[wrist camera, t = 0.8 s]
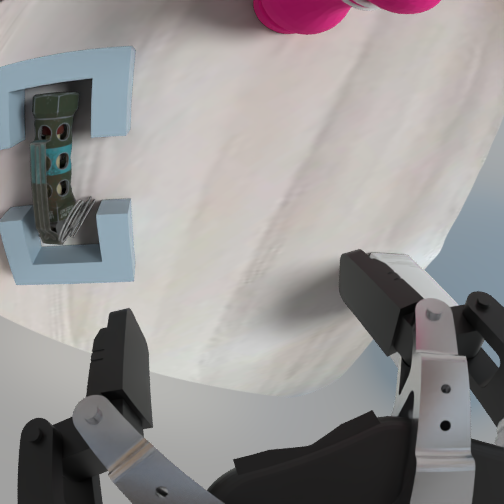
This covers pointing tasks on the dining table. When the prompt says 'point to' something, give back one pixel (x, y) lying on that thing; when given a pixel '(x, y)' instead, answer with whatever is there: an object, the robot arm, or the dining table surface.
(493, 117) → the dining table surface
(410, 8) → the pepper mill
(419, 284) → the supplement box
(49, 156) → the stun grenade
